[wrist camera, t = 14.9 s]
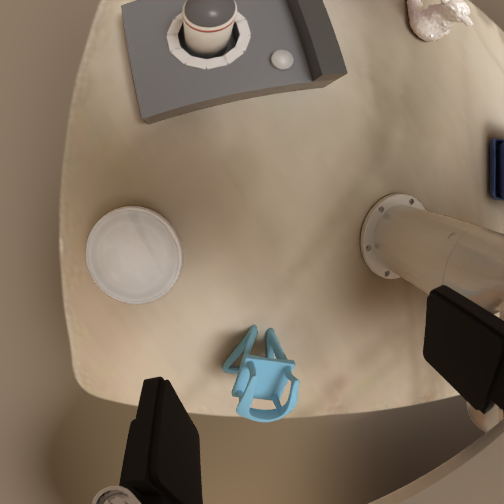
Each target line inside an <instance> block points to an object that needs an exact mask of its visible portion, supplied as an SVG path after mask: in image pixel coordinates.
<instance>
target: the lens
mask: <svg viewBox="0 0 504 504" xmlns="http://www.w3.org/2000/svg"><path fill="white" fill-rule="evenodd" d="M182 14H183V24H184V35H185V46H186V51H187V53H188V54H189V55H191V56H193V57H198V58H203V59H211V58H216V57H221V56H223V55H224V54H225V52H226V51H227V48H228V44H229V40H230V36H231V32H232V28H233V25H234V21H235V18H236V14H237V5H236V2H235V1H234V0H187V1H186V2H185V4H184V6H183V11H182Z"/></svg>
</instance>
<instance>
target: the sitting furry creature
mask: <svg viewBox="0 0 504 504" xmlns="http://www.w3.org/2000/svg"><path fill="white" fill-rule="evenodd" d="M406 3H407V5H408V6H407V7H408V14H409V15H408V17H409V21H410V22H409V23H410V27H411V28H412V30H413V31H414V33H415V34H416V35H417V36H418V37H419V38H421V39H423V40H425V41H432V42H433V41H437V40H438V39H440V38H441V37H443V36H446V35H447V34H449V33H450V31H451V30H450V27H452V26H453V24H454V22H463V23H464V24H465V25H466V26H472V25H473V23H472V21H471V20H470V18H469V16H470V15H471V13H470V8H469V7H468V6H467V4H466V3H465V1H463V0H441V4H439V5H436V4H435V5H430V6H428V8H427V9H425V10H424V9H422V5H423V3H422V2H421V0H407V2H406Z"/></svg>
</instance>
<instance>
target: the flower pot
mask: <svg viewBox="0 0 504 504" xmlns="http://www.w3.org/2000/svg"><path fill="white" fill-rule="evenodd" d="M490 194H491V196H492V198H493V199H495V200H504V140H502V139H498V138H493V139H492V140H491V142H490Z"/></svg>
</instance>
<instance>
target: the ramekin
mask: <svg viewBox="0 0 504 504" xmlns="http://www.w3.org/2000/svg"><path fill="white" fill-rule="evenodd" d="M86 263H87V266H88V270H89V272H90V274H91V276H92V278H93V280H94V281H95V283H96V284H97V285H98V287H99V288H100V289H101V290H102V291H103V292H104V293H106V294H107V295H108V296H110V297H111V298H113V299H115V300H118V301H121V302H124V303H128V304H145V303H149V302H153V301H155V300H158V299H159V298H161V297H163V296H164V295H165V294H167V293H168V292H169V291H170V290H171V289H172V288H173V286H174V285H175V283H176V282H177V280H178V278H179V276H180V273H181V269H182V264H183V250H182V245H181V242H180V239H179V237H178V234H177V233H176V231H175V229H174V228H173V226H172V225H171V224H170V223H169V222H168V221H167V220H166V219H165V218H164V217H163V216H161V215H160V214H158V213H157V212H155V211H153V210H151V209H148V208H144V207H140V206H125V207H120V208H117V209H114V210H112V211H110V212H109V213H107V214H106V215H104V216H103V217H102V218H101V219H100V220H99V221H98V222H97V223H96V224H95V225H94V227H93V228H92V230H91V232H90V234H89V237H88V239H87V244H86Z"/></svg>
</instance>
